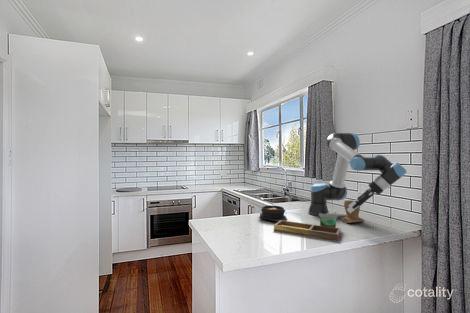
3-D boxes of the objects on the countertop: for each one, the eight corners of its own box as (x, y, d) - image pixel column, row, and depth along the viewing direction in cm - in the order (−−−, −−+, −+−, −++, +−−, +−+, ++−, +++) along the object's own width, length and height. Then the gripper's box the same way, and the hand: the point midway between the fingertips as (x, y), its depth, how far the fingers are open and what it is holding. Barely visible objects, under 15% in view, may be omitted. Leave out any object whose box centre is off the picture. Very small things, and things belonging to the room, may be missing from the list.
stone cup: (352, 218, 183) (352, 198, 183) (366, 222, 172) (367, 200, 172) (336, 220, 177) (336, 199, 177) (350, 225, 166) (350, 202, 166)
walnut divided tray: (280, 225, 162) (280, 220, 162) (340, 234, 145) (340, 228, 145) (273, 230, 151) (273, 224, 151) (337, 241, 134) (337, 234, 134)
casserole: (294, 222, 170) (294, 210, 170) (269, 225, 163) (269, 212, 163) (276, 214, 193) (276, 203, 193) (253, 216, 187) (253, 204, 187)
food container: (324, 231, 150) (324, 215, 150) (318, 229, 156) (318, 212, 156) (342, 230, 153) (342, 214, 153) (335, 227, 159) (335, 211, 159)
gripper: (385, 193, 129) (352, 218, 137) (383, 188, 151) (355, 210, 159) (373, 182, 132) (342, 208, 139) (373, 178, 154) (346, 201, 161)
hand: (349, 209), depth 149 cm, fingers open, 13 cm apart
